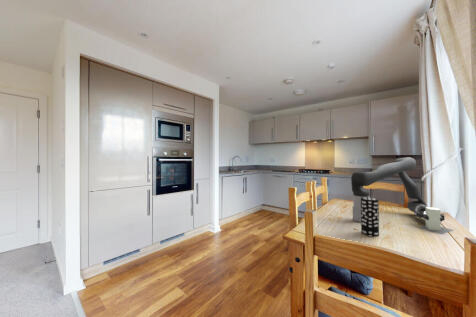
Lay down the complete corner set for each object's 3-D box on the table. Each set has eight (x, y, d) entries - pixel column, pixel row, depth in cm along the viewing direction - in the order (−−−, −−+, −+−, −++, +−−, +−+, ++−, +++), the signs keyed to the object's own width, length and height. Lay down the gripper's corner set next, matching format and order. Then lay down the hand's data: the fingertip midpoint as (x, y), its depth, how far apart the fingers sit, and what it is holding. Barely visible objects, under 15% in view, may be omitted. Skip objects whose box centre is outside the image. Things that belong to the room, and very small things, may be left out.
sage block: (440, 230, 110) (440, 210, 110) (428, 229, 113) (428, 209, 113) (437, 228, 115) (436, 208, 114) (425, 226, 117) (425, 207, 117)
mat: (441, 235, 106) (441, 234, 106) (418, 228, 115) (418, 228, 115) (454, 230, 111) (454, 230, 111) (431, 225, 120) (431, 224, 120)
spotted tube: (379, 237, 103) (379, 200, 103) (361, 234, 108) (360, 199, 108) (378, 232, 111) (377, 198, 110) (361, 230, 115) (360, 196, 115)
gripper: (410, 204, 130) (418, 211, 115) (439, 207, 122) (452, 214, 108) (410, 215, 130) (418, 223, 115) (439, 218, 122) (452, 227, 108)
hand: (434, 219), depth 111 cm, fingers closed on sage block, 5 cm apart
